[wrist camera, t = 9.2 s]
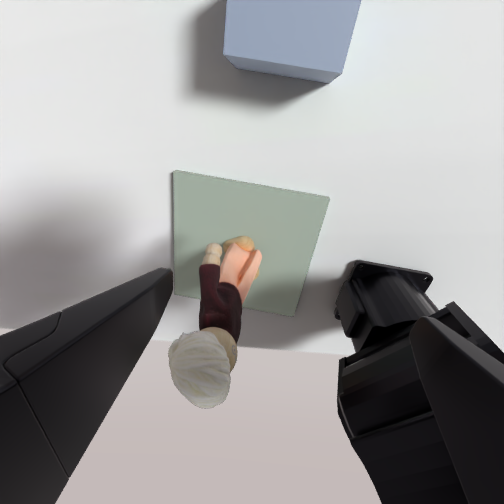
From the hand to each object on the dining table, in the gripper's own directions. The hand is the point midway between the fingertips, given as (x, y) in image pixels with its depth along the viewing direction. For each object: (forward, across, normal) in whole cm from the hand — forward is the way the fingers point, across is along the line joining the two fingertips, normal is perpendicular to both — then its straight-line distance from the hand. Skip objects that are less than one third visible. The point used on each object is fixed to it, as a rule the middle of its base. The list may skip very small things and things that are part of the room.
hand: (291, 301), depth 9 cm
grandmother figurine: (+12, +3, +5) cm, 13 cm away
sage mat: (+12, +3, +5) cm, 13 cm away
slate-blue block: (+12, +2, -10) cm, 16 cm away
